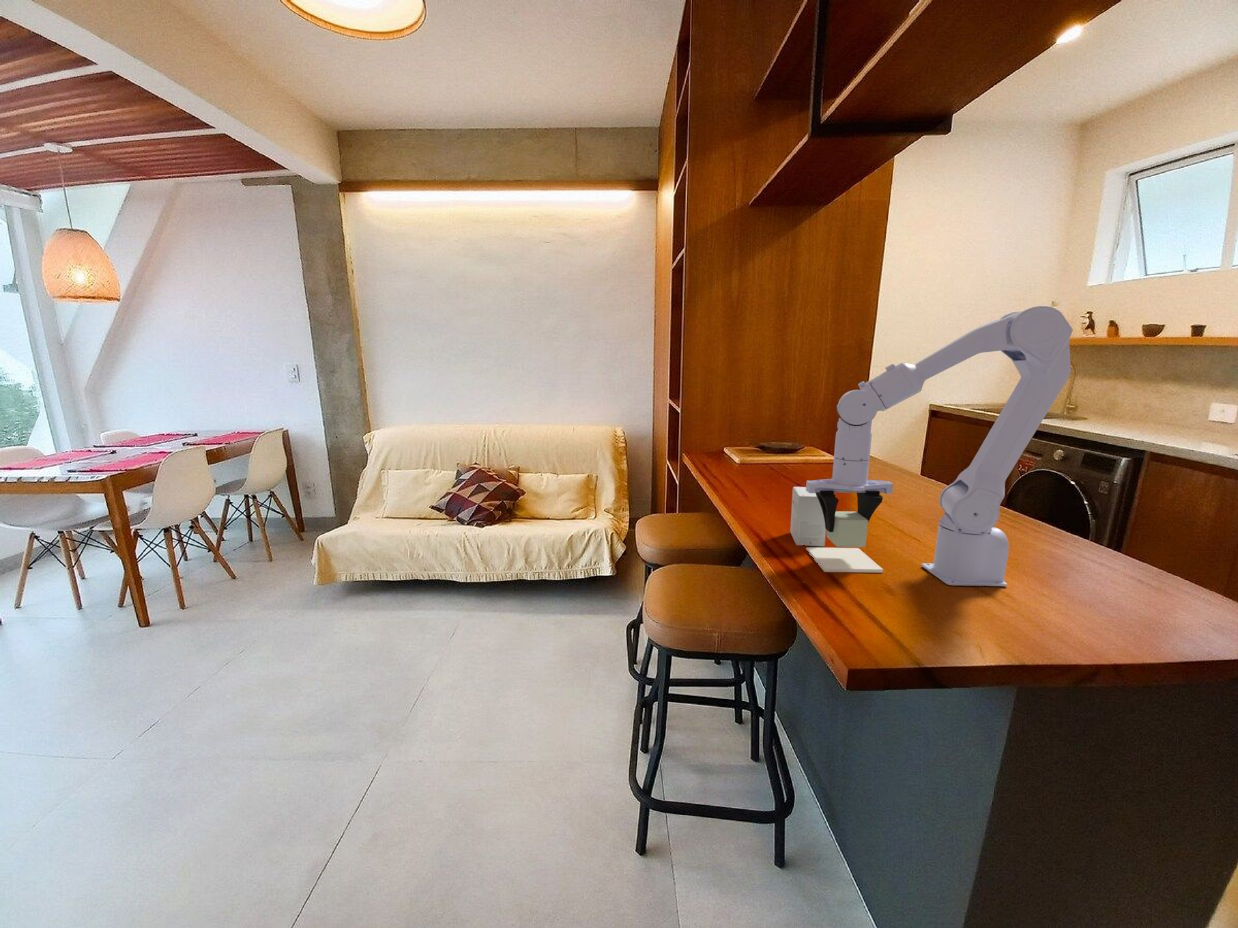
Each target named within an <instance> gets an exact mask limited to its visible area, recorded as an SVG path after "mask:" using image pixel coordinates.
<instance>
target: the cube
mask: <svg viewBox="0 0 1238 928" xmlns="http://www.w3.org/2000/svg"><path fill="white" fill-rule="evenodd" d="M868 525H869V522H868V520H867V519H866V518H864V517H863V516H861V515H860V514H859V513H857V511H847V510H846V511H843V510H841V511H837V510H836V512H835V521H834V530H833V532H829V531H828V530H826V534H825V538H826V537H827V539H828V540H829V541H830V542H831V543H832V544H834V546H835V548H866V546H867V545H866V543H867V535H868Z"/></svg>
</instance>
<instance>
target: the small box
mask: <svg viewBox="0 0 1238 928" xmlns="http://www.w3.org/2000/svg"><path fill="white" fill-rule="evenodd" d="M790 514H791V515H790V530H789V531H790V532H789V533H790V534H791V536H792V537H791V538H792V539H793V541H794V543H795V546H803V545H805V547H808V546H809V547H825V545H826V535H827V530H826V529H825V520H824V515H823V511H822V508H821V505H820V503H819V500H818V498H817V496H816V493H808V492H807V491H806V486H793V487H792V496H791V513H790Z"/></svg>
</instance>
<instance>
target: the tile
mask: <svg viewBox="0 0 1238 928" xmlns="http://www.w3.org/2000/svg"><path fill="white" fill-rule="evenodd" d="M805 547H806V548H805V550H807V551H808V552H809V553H808V552H807V551H806V552H807V553H808V554H809V556H810V557H811V556H812V557H813V558H814V559H813V558H812V557H811V558H812V559H813V560H814V562H815V563H816V564H817V563H818V564H817V565H818V566H819V567H820V568H821V570H822V571H823V572H824V573H879V574H881V573H884V569H883V568H882V567H881V566H880V565H878V564H877V563H876V562H875V561H874V560H873V559H872V558H871V557H870V556H868V555H867V554H866V553H865V552H863V551H862V549H860V547H816V546H809V547H808V546H805Z"/></svg>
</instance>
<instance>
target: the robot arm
mask: <svg viewBox="0 0 1238 928" xmlns="http://www.w3.org/2000/svg"><path fill="white" fill-rule="evenodd" d="M1073 330H1074V329H1073V327H1072V326H1071V324H1070V323H1069V322H1068V320H1067V319H1066V317H1065V316H1064V314H1063V313H1062V312H1061V311H1060V310H1058V309H1057V308H1055V307H1053V306H1048V305H1036V306H1031V307H1029V308H1027V309H1024V310H1021V311H1015V312H1010V313H1008V314H1006V315H1003V316H1001V318H1000V319H996V320H993V321H990V322H987V323H985V324H983V325H980V326H978V327H976V328H974V329H971V330H970V331H968V332H967V333H964V334H963V335H961V336H960V337H958V338H956V339H955V340H953V341H952V342H950V343H948V344H946V345H945V346H943V347H941V348H940V349H938V350H936V351H935V352H933V353H931V354H929V355H928V356H927V357H924V358H923V359H920V360H919V361H918V362H916V363H913V364H912V363H908V362H907V363H906V362H900V363H898V364H896V365H895V364H894V363H891V364H890V365H888V366H886V367H885V370H886V371H884V372H883V373H881V374H879V375H877V376H875V377H874V378H872V379H870V380H868V381H866V382H865V381H861V382H859V383H858V385H857V386H858V387H859V389H853V390H850V391H849V390H848V391H847V392H845V393H844V394H843V395H842V396H841V397H840V399H839V400H838V404H836V411H837V414H838V415H839V418H838V421H837V424H836V425H837V426H836V428H837V431H836V433H835V438H834V439H835V440H834V441H835V442H834V453H833V465H832V476H831V478H827V479H815V480H806V483H805V485H806V486H805V487H806V491H807V492H808V493H816V496H817V498H818V500H819V503H820V505H821V508H822V511H823V515H824V520H825V529H826V531H827V530H828V531H829V532H833V530H834V521H835V512H836V511H837V507H838V503H839V501H840V500H839V499H838V498H837V497H836V494H835V493H841V494H842V493H844V494H845V493H848V494H849V493H853V494H854V493H855V494H856V498H857V511H856V512H857V513H859V514H860V515H861V516H863V517H864V518H866V519H867V520H868V523H869V521H870V519H871V518H872V517H873V514H874V512H875V511H876V510H877V508H878V507H879V506H880V505H881V504H882V503H883V499H884V497H883V495H881V494H887V495H892V494H893V492H894V491H893V490H894V483H893V482H890V481H888V480H876V479H873V480H872V479H868V477H869V469H870V468H869V467H870V460H871V459H870V457H871V449H872V448H871V447H872V438H873V434H872V423H873V420H874V419H875V418H876V416H877V413H878V412H885V411H886V410H888V409H891V408H892V407H894V406H896V405H898V404H901V402H903V401H906V400H908V399H909V398H911V397H913V396H916V395H917V394H919V393H920V392H921V391H922V389H923V386H924V383H925V382H926V380H928V379H930V378H933V377H934V376H936V375H938V374H940V373H943V372H945V371H946V370H948V369H950V368H953V367H954V366H956V365H958V364H960V363H962V362H965V361H966V360H969V359H970V358H972V357H975V356H976V355H979V354H982V353H991V352H992V353H993V352H1001V353H1003V354H1004V355H1005V356H1006V357H1008V358H1009V359H1010V360H1011V362H1012V363H1013V365H1014V366H1015V369H1016V371H1018V374H1019V376H1020V379H1019V380H1018V382H1017V384H1016V385H1015V387H1014V389H1013V391H1012V392H1011V394H1010V396H1009V397H1008V399H1007V401H1006V403H1005V405H1004V406H1003V408H1002V410H1001V412H1000V413H999V415H998V416H997V418H996V420H995V422H994V423H993V425H992V426H991V428H990V430H989V432H988V434H987V435H986V437H985V439H984V440H983V442H982V444H981V446H980V447H979V449H978V451H977V452H976V454H975V456H974V457H973V459H972V461H971V462H970V464H969V466H968V467H966V468H965V469H963V471H961V472H960V473H959V474H958V476H957V477H956V479H955V480H954V481H953V482H952V483H950V484H949V485H948V486H946V487H945V488H943V490H942V491H941V493H940V495H939V499H938V500H939V505H940V508H941V509H942V511H944V514H942V516H941V518H940V519H939V521H938V527H937V535H936V543H935V551H934V558H933V563H929V562H927V563H924V562H923V563H921V567H922V568H924V569H925V570H927V571H928V572H929V573H930V574H932V575H933V576H935V577H936V578H938V580H941V581H942V582H943V583H944V584H946V585H948V586H969V587H970V586H971V587H972V586H973V587H974V586H975V587H984V586H985V587H1007V586H1008V583H1007V582H1006V581H1005V575H1006V570H1007V563H1008V557H1009V551H1010V544H1009V539H1008V536H1007V535H1006V533H1005V532H1004V531H1003V530H1001V529H1000V528H998V527H995V525H997V522H998V521H999V519H1000V506H1001V503H1002V502H1003V500H1004V498H1005V496H1006V494H1005V493H1006V488H1005V487H1006V486H1005V485H1006V480H1007V478H1008V477H1009V476H1010V474H1011V472H1012V471H1013V469H1014V467H1015V465H1016V464H1017V462H1018V461H1019V459H1020V457H1021V456H1022V454H1023V453H1024V451H1025V450H1026V448H1027V446H1028V444H1029V443H1030V441H1031V440H1032V438H1033V437H1034V435H1035V433H1036V432H1037V430H1038V428H1039V426H1040V425H1041V423H1042V422H1043V420H1044V418H1045V417H1046V415H1047V414H1048V412H1049V410H1050V409H1051V407H1052V406H1053V404H1054V403H1055V400H1056V399H1057V397H1058V396H1059V395H1060V393H1061V391H1062V389H1063V388H1064V386H1065V385H1066V383H1067V381H1068V379H1070V375H1071V373H1072V367H1071V366H1072V365H1071V349H1070V339H1071V336H1072V334H1073Z"/></svg>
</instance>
